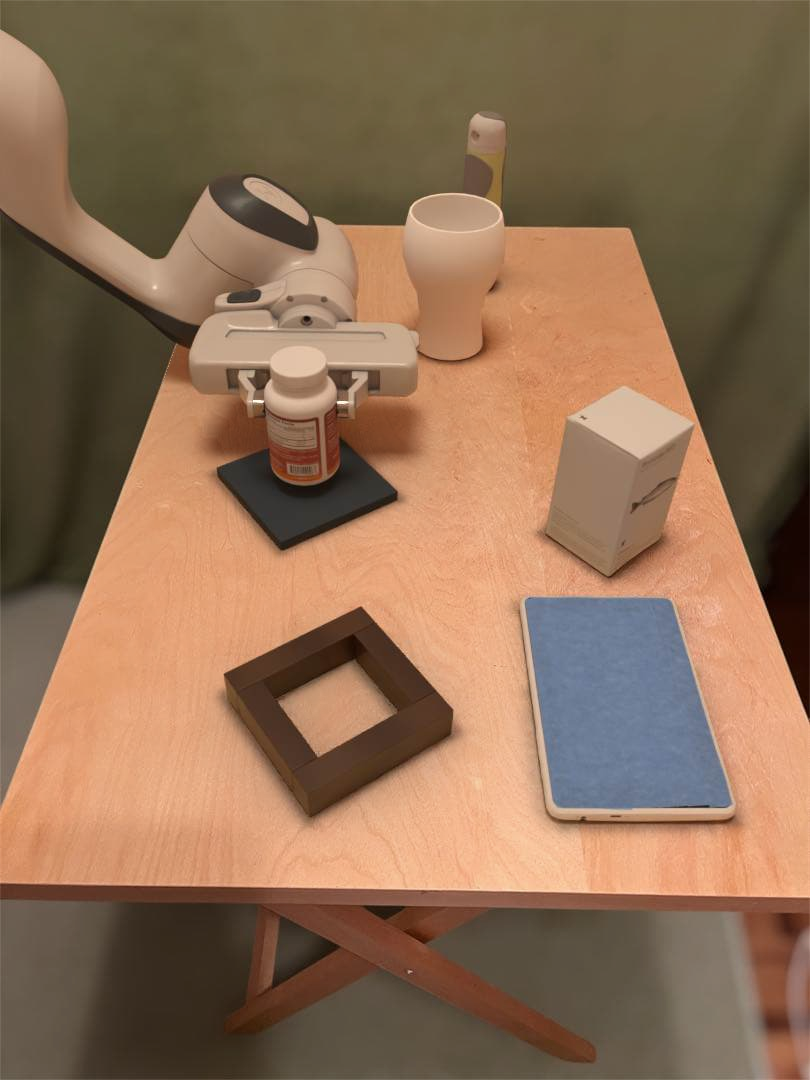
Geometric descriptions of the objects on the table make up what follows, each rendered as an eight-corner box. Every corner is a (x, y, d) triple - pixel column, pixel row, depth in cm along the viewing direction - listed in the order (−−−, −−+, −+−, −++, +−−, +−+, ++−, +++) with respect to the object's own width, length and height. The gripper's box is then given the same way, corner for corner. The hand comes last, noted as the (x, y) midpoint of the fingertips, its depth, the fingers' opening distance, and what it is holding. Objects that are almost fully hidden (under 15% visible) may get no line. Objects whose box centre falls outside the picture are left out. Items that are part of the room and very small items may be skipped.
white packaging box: (608, 580, 76) (639, 460, 67) (542, 533, 80) (563, 414, 71) (663, 541, 79) (698, 422, 71) (597, 498, 83) (623, 380, 75)
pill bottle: (313, 436, 85) (308, 332, 77) (353, 469, 82) (352, 363, 74) (257, 462, 82) (245, 356, 74) (296, 498, 79) (288, 390, 71)
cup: (410, 313, 107) (414, 185, 96) (501, 324, 105) (514, 196, 95) (391, 361, 99) (393, 228, 89) (488, 374, 98) (501, 240, 87)
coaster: (281, 550, 77) (280, 542, 77) (217, 475, 84) (216, 467, 84) (397, 499, 82) (398, 491, 82) (328, 432, 89) (327, 424, 89)
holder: (309, 817, 59) (307, 794, 57) (227, 697, 66) (223, 673, 64) (451, 733, 64) (453, 709, 62) (361, 629, 71) (361, 605, 69)
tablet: (737, 823, 60) (742, 812, 59) (545, 823, 59) (548, 812, 58) (671, 605, 74) (674, 594, 73) (516, 604, 73) (517, 592, 73)
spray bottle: (447, 283, 112) (457, 112, 99) (474, 271, 115) (488, 103, 101) (475, 298, 110) (489, 125, 96) (503, 285, 112) (520, 115, 98)
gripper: (418, 356, 89) (422, 443, 79) (207, 353, 89) (185, 440, 79) (420, 297, 85) (425, 381, 75) (199, 294, 84) (174, 378, 74)
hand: (300, 411), depth 77 cm, fingers closed on pill bottle, 6 cm apart
